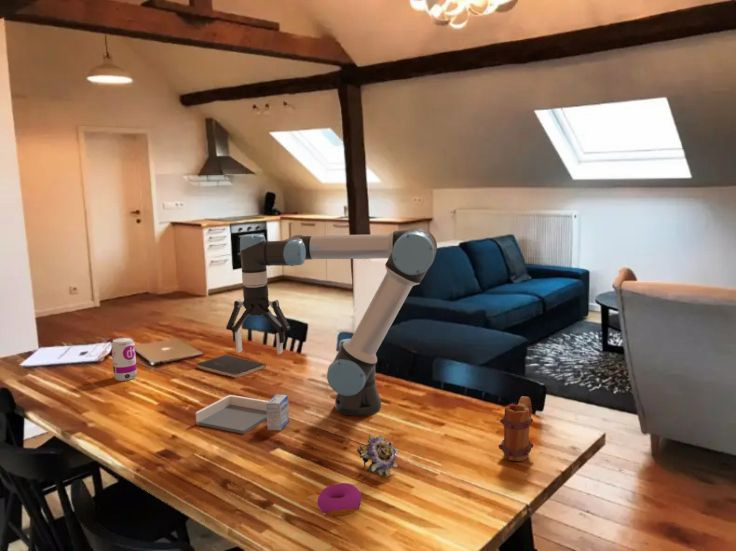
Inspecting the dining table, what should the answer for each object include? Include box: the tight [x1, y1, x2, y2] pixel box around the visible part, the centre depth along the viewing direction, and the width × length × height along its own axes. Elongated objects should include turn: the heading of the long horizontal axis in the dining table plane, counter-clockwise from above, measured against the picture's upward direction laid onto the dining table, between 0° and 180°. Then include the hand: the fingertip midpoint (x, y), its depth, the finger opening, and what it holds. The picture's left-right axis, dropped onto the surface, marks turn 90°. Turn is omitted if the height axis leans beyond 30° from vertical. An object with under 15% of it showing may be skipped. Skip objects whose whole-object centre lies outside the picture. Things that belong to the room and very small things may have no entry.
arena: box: [195, 394, 270, 435], centre depth 201 cm, size 18×17×4 cm
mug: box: [498, 395, 534, 462], centre depth 172 cm, size 15×8×15 cm, turn 148°
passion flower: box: [356, 433, 399, 477], centre depth 165 cm, size 11×11×12 cm
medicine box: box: [266, 394, 290, 431], centre depth 195 cm, size 8×4×9 cm, turn 168°
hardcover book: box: [195, 354, 267, 379], centre depth 254 cm, size 16×23×2 cm
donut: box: [317, 482, 362, 517], centre depth 147 cm, size 10×10×4 cm
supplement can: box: [110, 337, 138, 382], centre depth 243 cm, size 8×8×15 cm
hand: (259, 352), depth 198 cm, fingers open, 13 cm apart
